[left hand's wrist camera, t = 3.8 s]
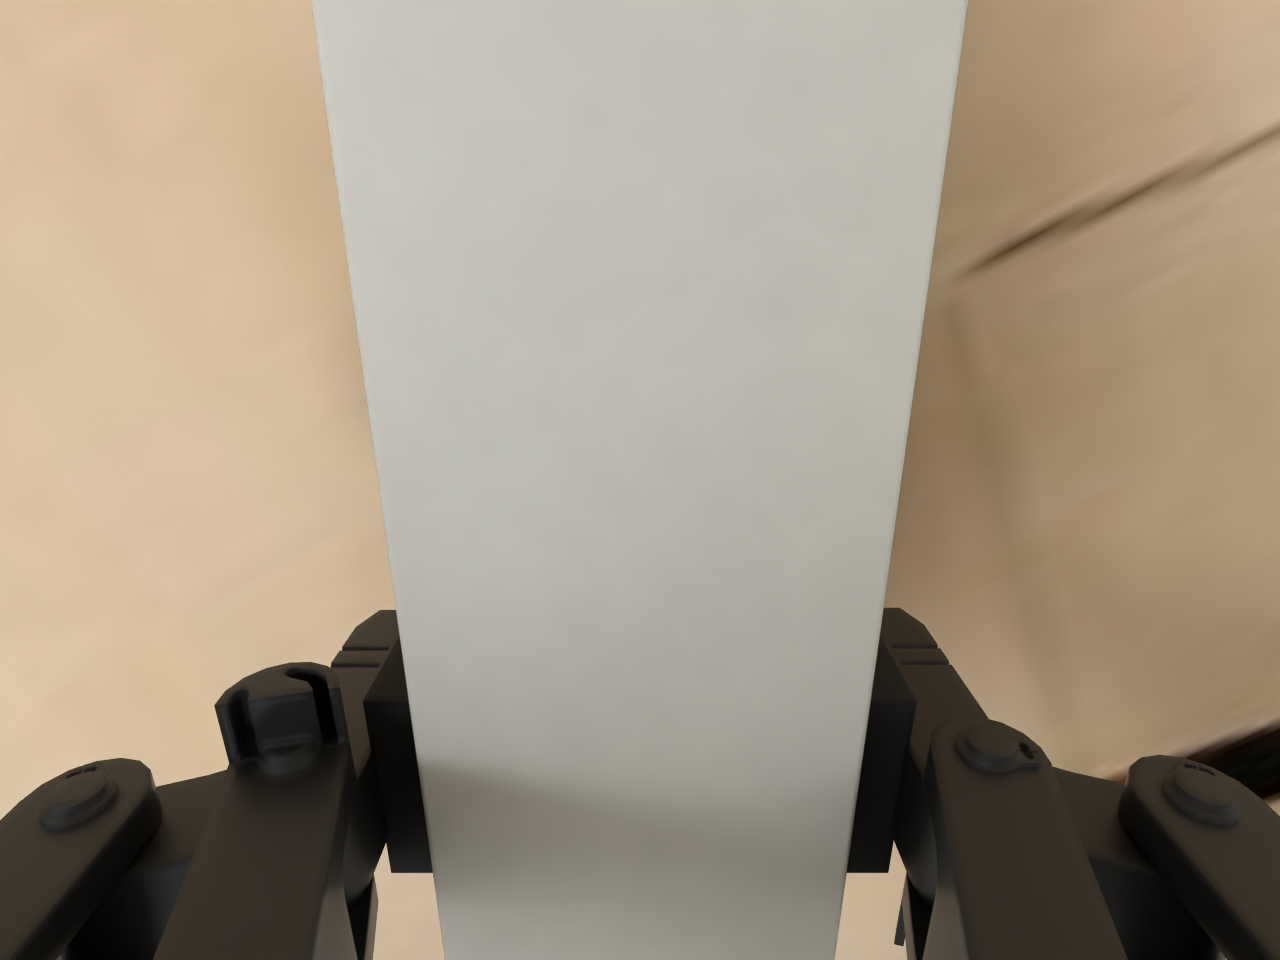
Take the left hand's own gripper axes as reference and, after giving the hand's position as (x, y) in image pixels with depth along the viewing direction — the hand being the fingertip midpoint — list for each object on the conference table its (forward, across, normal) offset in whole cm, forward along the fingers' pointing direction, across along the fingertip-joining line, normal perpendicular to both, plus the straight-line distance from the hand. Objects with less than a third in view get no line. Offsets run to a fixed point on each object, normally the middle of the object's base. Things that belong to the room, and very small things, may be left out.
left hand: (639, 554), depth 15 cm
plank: (+1, 0, -27) cm, 27 cm away
